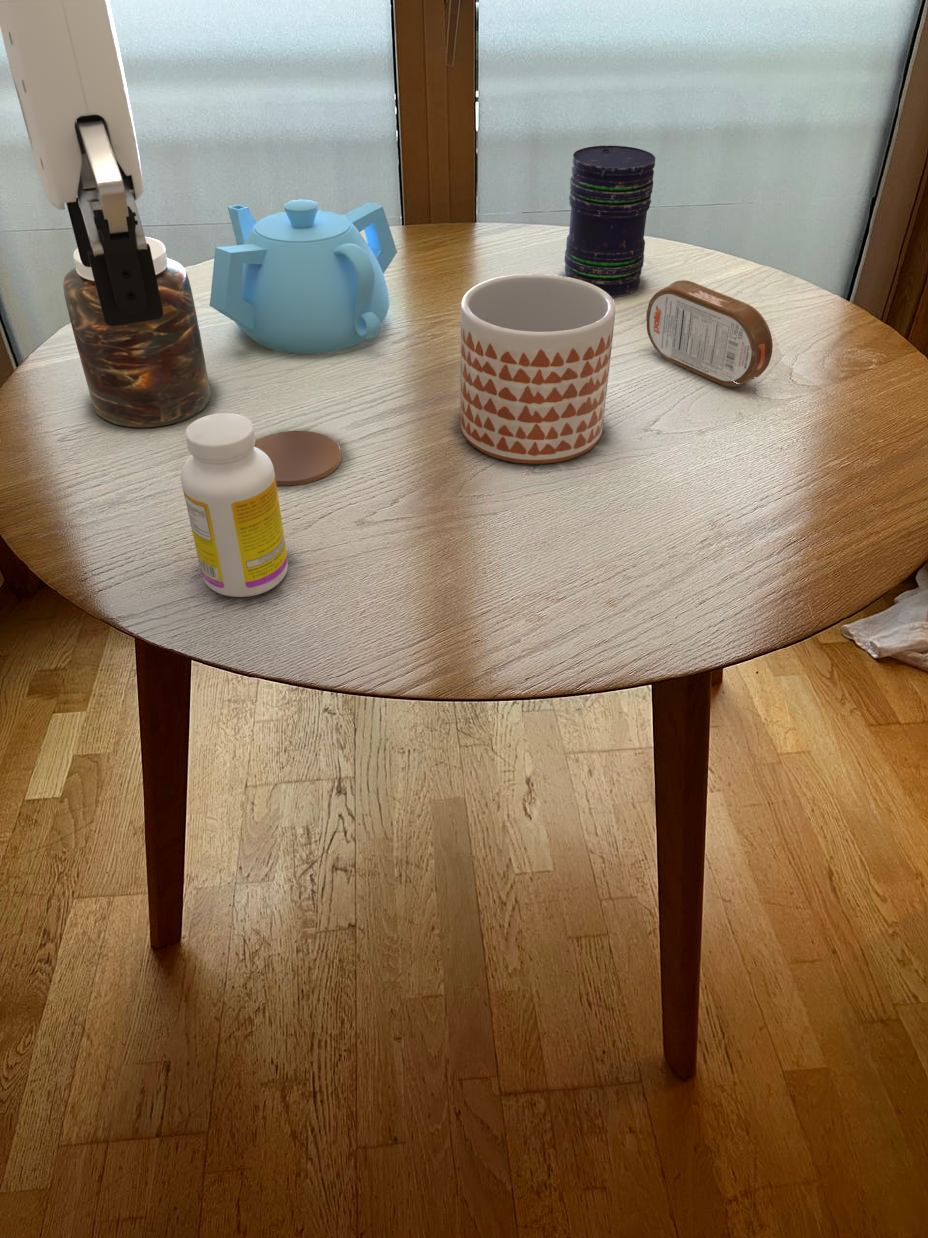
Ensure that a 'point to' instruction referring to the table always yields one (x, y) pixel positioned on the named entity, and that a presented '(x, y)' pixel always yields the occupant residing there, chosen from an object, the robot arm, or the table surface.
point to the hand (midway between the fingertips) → (121, 289)
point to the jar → (140, 350)
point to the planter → (535, 366)
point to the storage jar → (609, 217)
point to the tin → (709, 333)
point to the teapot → (305, 276)
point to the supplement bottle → (233, 507)
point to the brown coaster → (300, 456)
